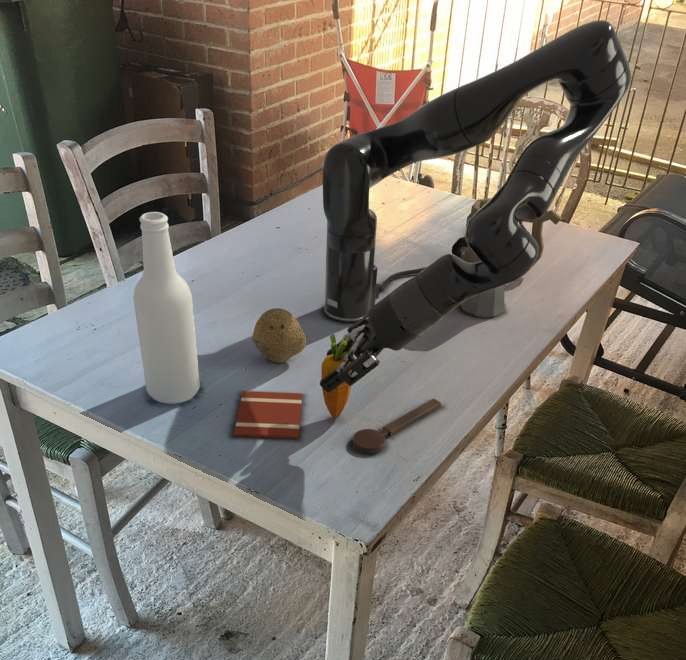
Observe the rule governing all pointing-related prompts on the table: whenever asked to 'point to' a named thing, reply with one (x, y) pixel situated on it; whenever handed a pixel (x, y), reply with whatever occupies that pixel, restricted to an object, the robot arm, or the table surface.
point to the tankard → (536, 224)
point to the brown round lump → (278, 335)
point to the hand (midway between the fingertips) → (327, 372)
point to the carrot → (341, 393)
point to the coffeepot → (487, 301)
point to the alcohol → (165, 318)
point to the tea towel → (269, 415)
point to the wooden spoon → (390, 429)
